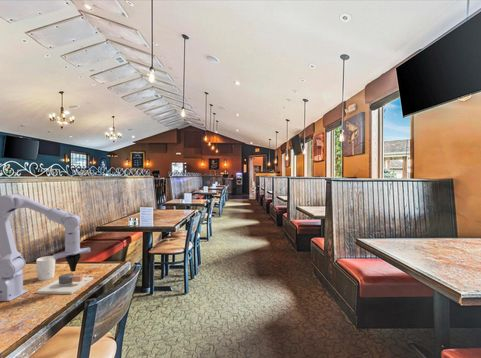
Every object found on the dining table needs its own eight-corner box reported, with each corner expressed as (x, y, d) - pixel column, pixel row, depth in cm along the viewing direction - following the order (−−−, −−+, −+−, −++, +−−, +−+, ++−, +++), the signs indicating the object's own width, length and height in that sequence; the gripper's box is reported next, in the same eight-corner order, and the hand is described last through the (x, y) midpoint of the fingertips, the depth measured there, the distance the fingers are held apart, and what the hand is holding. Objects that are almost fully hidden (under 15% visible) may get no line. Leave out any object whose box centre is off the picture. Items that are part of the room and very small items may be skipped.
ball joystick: (55, 283, 120) (55, 278, 120) (64, 278, 126) (64, 273, 126) (77, 283, 120) (77, 278, 120) (85, 278, 126) (85, 273, 126)
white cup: (59, 275, 136) (59, 256, 136) (46, 281, 128) (46, 261, 128) (45, 274, 137) (45, 255, 137) (32, 280, 129) (32, 260, 129)
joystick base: (71, 294, 115) (71, 289, 115) (36, 293, 115) (36, 288, 115) (93, 279, 131) (93, 275, 131) (62, 278, 131) (62, 274, 131)
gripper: (56, 246, 112) (57, 277, 112) (93, 239, 123) (93, 268, 123) (51, 243, 116) (52, 273, 117) (87, 237, 127) (87, 265, 128)
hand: (72, 270), depth 120 cm, fingers closed
